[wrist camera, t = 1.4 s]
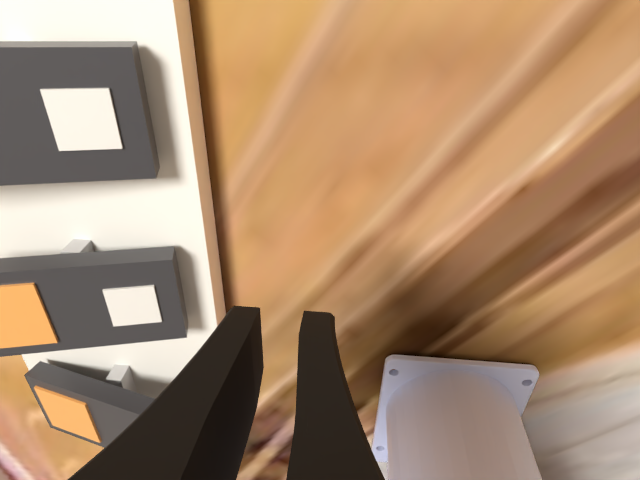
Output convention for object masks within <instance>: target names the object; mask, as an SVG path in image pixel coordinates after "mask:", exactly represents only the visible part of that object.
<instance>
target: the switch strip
mask: <svg viewBox="0 0 640 480" xmlns="http://www.w3.org/2000/svg"><path fill="white" fill-rule="evenodd" d="M0 41H137V44H138V49H139V55H140V60H141V66H142V71H143V76H144V82H145V87H146V93H147V98H148V104H149V109H150V115H151V120H152V126H153V131H154V137H155V142H156V147H157V153H158V158H159V164H160V169H159V172H158V175H157V178H156V179H134V180H113V181H91V182H70V183H48V184H27V185H5V186H0V258H10V257H24V256H39V255H53V254H67V253H82V252H96V251H110V250H125V249H139V248H153V247H168V246H175V251H176V257H177V262H178V268H179V273H180V279H181V284H182V290H183V295H184V300H185V306H186V311H187V317H188V322H189V323H188V333H187V338H180V339H170V340H160V341H150V342H140V343H131V344H121V345H111V346H101V347H91V348H81V349H71V350H61V351H52V352H42V353H32V354H22V357H23V359H24V361H25V363H26V365H27V367H28V369H29V371H30V370H31V369H32V368H33V367H34V366H35V365H36V364H37V363H38V362H40V361H42V362H45V363H48V364H51V365H54V366H57V367H60V368H63V369H66V370H69V371H72V372H75V373H78V374H81V375H84V376H88V377H91V378H94V379H97V380H100V381H103V382H106V383H109V384H112V385H115V386H118V387H121V388H124V389H127V390H130V391H133V392H136V393H139V394H142V395H145V396H148V397H151V398H154V399H156V398H157V397H158V396H159V394H160V393H161V392H162V391H163V390H164V389H165V388H166V387H167V386H168V385H169V384H170V383H171V382H172V381H173V380H174V378H175V377H176V376H177V375H178V374H179V373H180V372H181V370H182V369H183V368H184V367H185V366H186V364H187V363H188V362H189V361H190V360H191V359H192V357H193V356H194V355H195V354H196V353H197V352H198V350H199V349H200V348H201V347H202V345H203V344H204V343H205V342H206V340H207V339H208V338H209V337H210V335H211V334H212V333H213V331H214V330H215V329H216V328H217V326H218V325H219V324H220V322H221V321H222V320H223V318H224V317H225V315H226V310H225V301H224V293H223V284H222V276H221V267H220V259H219V251H218V242H217V234H216V225H215V217H214V208H213V200H212V192H211V183H210V175H209V166H208V158H207V149H206V141H205V133H204V124H203V116H202V107H201V99H200V90H199V82H198V74H197V65H196V57H195V48H194V40H193V31H192V23H191V15H190V6H189V0H0Z"/></svg>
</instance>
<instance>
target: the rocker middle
mask: <svg viewBox="0 0 640 480" xmlns="http://www.w3.org/2000/svg"><path fill="white" fill-rule="evenodd" d="M188 323H189V322H188V317H187V311H186V306H185V300H184V295H183V290H182V284H181V279H180V273H179V268H178V262H177V257H176V251H175V246H168V247H153V248H139V249H125V250H110V251H96V252H82V253H67V254H53V255H39V256H24V257H10V258H0V357H2V356H12V355H22V354H32V353H42V352H52V351H61V350H71V349H81V348H91V347H101V346H111V345H121V344H131V343H140V342H150V341H160V340H170V339H180V338H187V333H188Z"/></svg>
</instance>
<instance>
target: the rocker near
mask: <svg viewBox="0 0 640 480" xmlns="http://www.w3.org/2000/svg"><path fill="white" fill-rule="evenodd" d="M159 169H160V164H159V158H158V153H157V147H156V142H155V137H154V131H153V126H152V120H151V115H150V109H149V104H148V98H147V93H146V87H145V82H144V76H143V71H142V66H141V60H140V55H139V49H138V44H137V41H0V186H5V185H27V184H48V183H70V182H91V181H113V180H134V179H156V178H157V175H158V172H159Z"/></svg>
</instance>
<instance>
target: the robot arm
mask: <svg viewBox="0 0 640 480" xmlns="http://www.w3.org/2000/svg"><path fill="white" fill-rule="evenodd" d="M263 368H264V366H263V350H262V334H261V318H260V308H256V307H242V306H234V307H232V308H231V309H230V310H229V311H228V313H227V314H226V315H225V317H224V318H223V320H222V321H221V322H220V324H219V325H218V326H217V328H216V329H215V330H214V331H213V333H212V334H211V335H210V337H209V338H208V339H207V340H206V342H205V343H204V344H203V345H202V347H201V348H200V349H199V350H198V352H197V353H196V354H195V355H194V356H193V357H192V359H191V360H190V361H189V362H188V363H187V364H186V366H185V367H184V368H183V369H182V370H181V372H180V373H179V374H178V375H177V376H176V377H175V378H174V380H173V381H172V382H171V383H170V384H169V385H168V386H167V387H166V388H165V389H164V390H163V391H162V392H161V393H160V394H159V396H158V397H157V398H156V399H155V400H154V401H153V402H152V403H151V404H150V405H149V406H148V407H147V408H146V409H145V410H144V411H143V412H142V413H141V414H140V415H139V416H138V417H137V418H136V419H135V420H134V421H133V422H132V423H131V424H130V425H129V426H128V427H127V428H126V429H125V430H124V431H123V432H122V433H121V434H119V435H118V436H117V437H116V438H115V439H114V440H113V441H112V442H111V443H110V444H109V445H107V446H106V447H105V448H104V449H103V450H102V451H101V452H100V453H98V454H97V455H96V456H95V457H94V458H93V459H91V460H90V461H89V462H88V463H87V464H86V465H84V466H83V467H82V468H81V469H80V470H79V471H77V472H76V473H75V474H74V475H73V476H72V477H70V478H69V479H68V480H236V478H237V474H238V471H239V468H240V464H241V461H242V457H243V454H244V450H245V447H246V443H247V440H248V437H249V433H250V430H251V426H252V423H253V419H254V415H255V412H256V408H257V403H258V397H259V392H260V386H261V380H262V374H263ZM392 369H396V370H392ZM538 378H539V372H538V369H537V367H535V366H534V365H528V364H515V363H501V362H488V361H475V360H461V359H448V358H435V357H421V356H408V355H390V356H388V357H387V358H386V359H385V364H384V370H383V377H382V383H381V390H380V396H379V402H378V409H377V415H376V422H375V428H374V434H373V441H372V447H370V445H369V443H368V440H367V438H366V435H365V433H364V430H363V428H362V425H361V422H360V420H359V417H358V414H357V412H356V409H355V406H354V403H353V400H352V397H351V394H350V391H349V387H348V384H347V381H346V378H345V374H344V371H343V367H342V363H341V359H340V355H339V350H338V346H337V340H336V333H335V317H334V316H333V315H332V314H331V313H327V312H313V311H304V313H303V318H302V322H301V327H300V332H299V347H298V371H297V396H296V416H295V427H294V435H293V441H292V447H291V454H290V460H289V466H288V472H287V478H286V480H385V479H384V477H383V475H382V472H381V470H380V468H379V466H378V463H377V461H378V462H387V471H388V480H542V478H541V475H540V472H539V469H538V466H537V463H536V460H535V457H534V454H533V452H532V449H531V446H530V443H529V440H528V437H527V434H526V431H525V428H524V425H523V423H522V420H521V416H522V414H523V412H524V409H525V407H526V405H527V403H528V400H529V398H530V396H531V394H532V391H533V389H534V387H535V385H536V382H537V380H538Z"/></svg>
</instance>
